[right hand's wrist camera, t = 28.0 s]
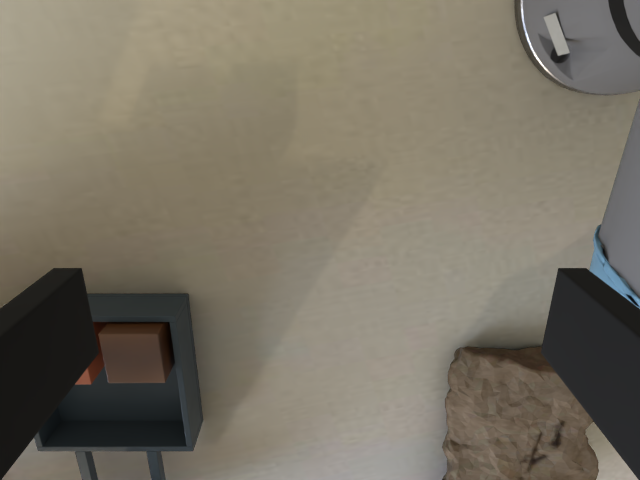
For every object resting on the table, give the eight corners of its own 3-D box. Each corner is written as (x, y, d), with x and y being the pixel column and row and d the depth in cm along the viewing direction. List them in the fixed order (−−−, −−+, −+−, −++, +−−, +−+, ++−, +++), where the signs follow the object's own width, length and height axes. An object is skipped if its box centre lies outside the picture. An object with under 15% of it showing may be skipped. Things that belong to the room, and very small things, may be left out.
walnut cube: (181, 349, 44) (165, 383, 39) (130, 349, 44) (108, 383, 39) (175, 304, 42) (157, 334, 38) (122, 304, 42) (97, 334, 38)
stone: (567, 528, 49) (586, 578, 43) (427, 498, 52) (427, 541, 46) (602, 347, 45) (628, 376, 39) (447, 327, 48) (451, 350, 42)
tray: (27, 293, 42) (-56, 357, 33) (188, 293, 42) (151, 357, 33) (80, 496, 52) (27, 590, 43) (212, 496, 52) (188, 590, 43)
